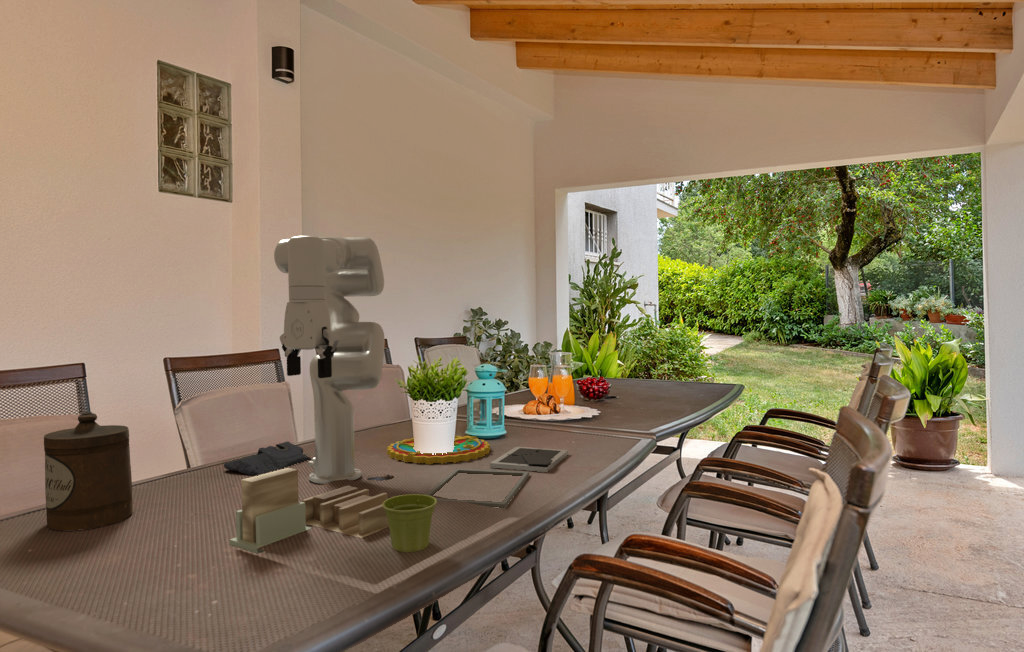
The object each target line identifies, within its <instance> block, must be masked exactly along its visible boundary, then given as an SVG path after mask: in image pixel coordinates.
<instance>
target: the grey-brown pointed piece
mask: <svg viewBox="0 0 1024 652" xmlns="http://www.w3.org/2000/svg"><path fill="white" fill-rule="evenodd" d="M567 455H568V456H569V449H558V448H557V449H555V448H554V449H553V448H543V447H542V448H541V447H540V448H539V447H528V446H527V447H526V446H515V447H514V448H512V449H510V450H509V451H507V452H506V453H503V454H502V455H501V456H499V457H497V458H496V459H494V460H493V461H491V462H489V468H490V467H492V468H491V469H495V468H503V469H502V470H507V469H516V470H515V471H520V470H526V471H525V472H532V471H537V472H536V473H544V472H547V473H549V472H550V471H551V470H552V469H553V468H555V465H556V464H557V465H558V464H559V463H561V462H562V461H563V460H564V459H566V457H568V456H567ZM563 458H564V459H563ZM562 459H563V460H562ZM561 460H562V461H561ZM557 465H556V466H557ZM550 469H551V470H550ZM549 470H550V471H549ZM548 471H549V472H548Z"/></svg>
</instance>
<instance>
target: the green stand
mask: <svg viewBox="0 0 1024 652" xmlns="http://www.w3.org/2000/svg"><path fill="white" fill-rule="evenodd" d="M235 520H236V521H235V522H236V523H235V524H236V525H235V526H236V537H232V538H230V539H229V546H231V545H232V546H231V547H234V546H235V547H234V548H238V549H241V548H242V550H244V551H248V552H250V553H255V554H258V555H259V554H260V553H263V552H265V550H263V549H261V548H262V547H265V546H267V545H271V544H273V543H275V542H278V541H280V540H284V539H286V538H289V537H292V536H295V535H298V534H300V533H302V532H306V531H308V530H311V529H312V527H311V526H308V525H307V524H306V517H305V502H302V501H299V503H296V504H293V505H290V506H287V507H284V508H281V509H278V510H274V511H271V512H268V513H265V514H262V515H259V516H256V543H251V542H247V541H244V540H243V524H242V509H239V510H235Z"/></svg>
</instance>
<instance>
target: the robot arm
mask: <svg viewBox="0 0 1024 652" xmlns="http://www.w3.org/2000/svg"><path fill="white" fill-rule="evenodd" d="M380 256H381V255H380V253H379V249H378V246H377V244H376V243H375V241H374V240H373V239H372V238H371V237H367V236H363V237H361V236H360V237H359V236H358V237H357V236H353V237H352V236H350V237H347V236H346V237H345V236H343V237H342V236H339V237H338V236H321V237H320V236H313V235H297V236H292V237H290V238H286V239H281V240H280V241H278V242H277V244H276V246H275V248H274V254H273V257H274V258H273V259H274V263H275V266H276V267H277V269H278V270H279V271H280V272H281V273H284V274H288V277H287V281H288V302H286V306H285V311H284V318H283V319H284V324H283V334H281V335H280V336H279V341H280V344H281V345H282V346H281V349H282V350H283V352H284V357H285V358H286V376H287V377H292V376H300V375H302V367H301V366H302V364H301V363H302V361H301V360H302V359H301V356H300V354H301V353H300V352H301V351H302V350H305V351H306V350H309V351H310V350H315V351H316V353H317V355H314V356H313V357H312V359H311V361H310V363H309V376H310V377H309V378H310V382H311V387H312V388H311V389H312V393H313V395H312V397H313V407H314V408H313V413H314V416H313V417H314V455H315V456H313V458H311V460H310V461H307V466H308V467H312V469H313V470H312V472H311V473H309V475H308V479H309V481H310V482H312V483H314V484H319V485H326V484H330V483H333V482H336V481H343V480H349V481H355V480H357V479H359V478H361V477H362V471H361V469H359V468H356V467H355V466H356V465H355V464H356V463H355V416H354V415H355V413H354V409H355V408H354V406H353V403H352V401H351V400H350V399H349V397H348V396H347V395H346V394H345V393H344V391H359V390H373V389H377V387H378V386H379V384H380V382H381V379H382V373H383V365H384V354H385V347H386V346H385V344H386V343H385V341H386V340H385V332H384V329H383V327H382V326H381V325H380V323H377V322H374V321H360V314H359V313H360V312H359V311H358V310H357V308H356V307H355V306H354V304H353V303H351V302H350V301H349V300H348V299H347V297H352V298H353V297H376V296H379V295H380V294H382V292H383V291H384V287H385V278H384V272H383V266H382V262H381V257H380ZM345 297H346V298H345Z"/></svg>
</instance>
